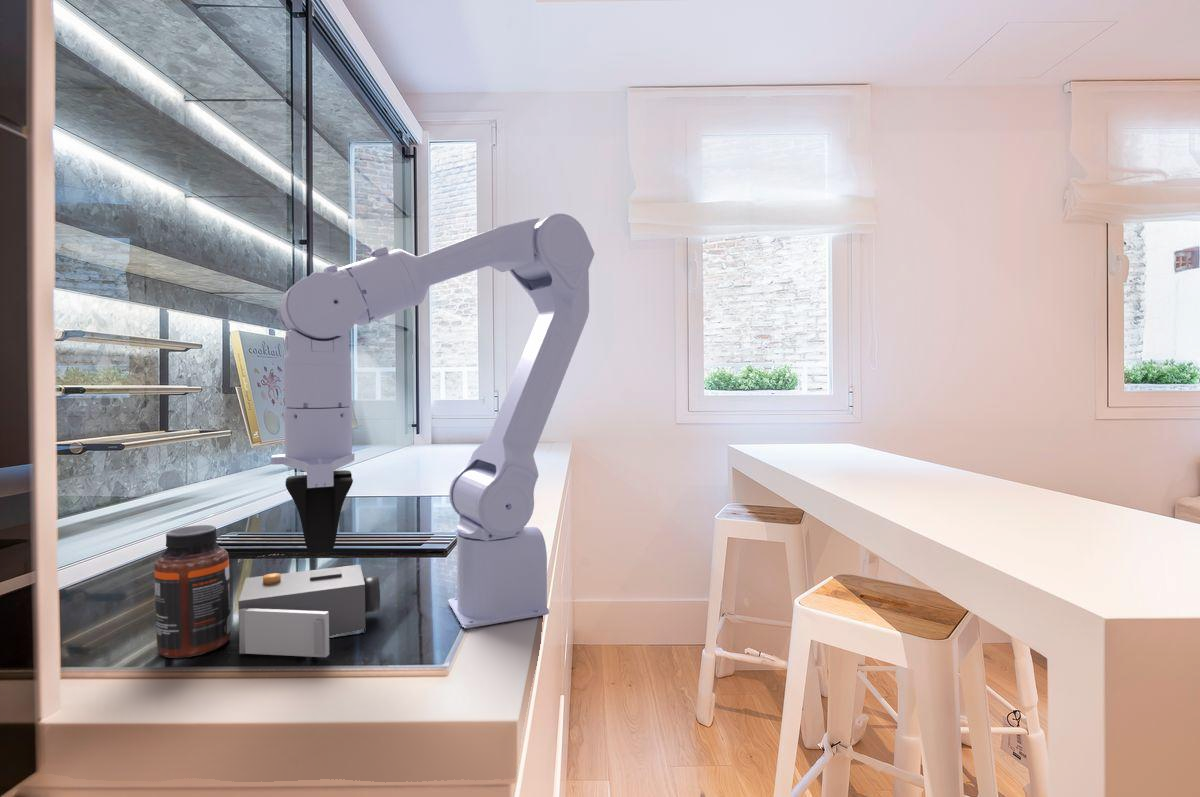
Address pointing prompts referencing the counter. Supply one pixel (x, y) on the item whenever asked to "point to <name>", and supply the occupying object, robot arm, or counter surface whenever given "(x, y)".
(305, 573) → the block
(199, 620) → the supplement bottle
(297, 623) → the side door
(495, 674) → the counter surface
